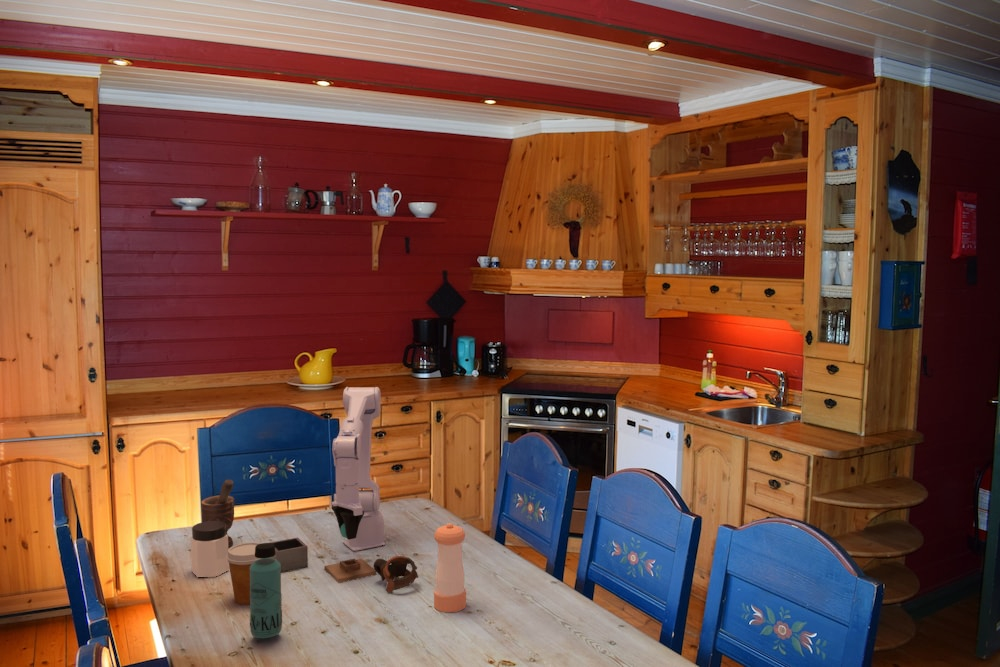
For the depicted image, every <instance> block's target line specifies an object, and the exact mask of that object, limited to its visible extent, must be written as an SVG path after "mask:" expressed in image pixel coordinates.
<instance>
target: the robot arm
mask: <svg viewBox="0 0 1000 667" xmlns="http://www.w3.org/2000/svg"><path fill="white" fill-rule="evenodd" d="M381 396H382V395H381V388H379V387H378V386H375V387H371V386H370V387H362V386H361V387H357V386H355V387H349V386H346V387H345V388H344V389H343V394H342V404H343V405H342V406H343V408H344V411H345V413H346V416H347V417H345V418H344V419H343V420H342V422H341V425H340V428H339V433H338V435H337V437H335V438H333V441H332V448H331V449H332V450H331V451H332V457H333V466H334V467H335V493H334V494H333V501H331V509H332V511H333V513H334V515H335V518H336V521H337V524H338V529H339V530H340V528H341V526H342V525H343V524H345V530H346V536H347V538H346V539H347V540H344V541H343V544H344V545H345V546H347V547H348V548H349V550H352V551H353V552H358V551H361V550H368V549H373V548H377V547H382V545H383V546H385V545H386V543H385V522H384V521H385V520H384V516H383V514H382V512H381V511H379V510H380V504H381V494H380V486H379V484H378V483H377V482H376V481H375V480H373V479H372V478H371V460H372V459H371V458H372V457H371V456H372V455H371V454H372V429H373V424H374V420H375V419H377V418H379V417H380V413H381V400H382V399H381ZM363 489H364V490H363Z"/></svg>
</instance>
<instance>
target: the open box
mask: <svg viewBox="0 0 1000 667" xmlns="http://www.w3.org/2000/svg"><path fill="white" fill-rule="evenodd" d="M269 543H273V544H274V545H275V551H276V554H275V555H274V556H273V557H269V558H274V559H275V560H277V561H278V562H279V563H280V564H281V574H282V573H286V572H290V571H296V570H300V569H305V568H308V567H309V561H308V560H309V557H308V554H309V553H308V552H309V551H308V550H309V548H308V545H307V544H306V543H305V542H303V541H302V540H301V539H300V538H299V537H298V536H297V537H293V538H289V539H288V538H287V539H282V540H276V541H271V542H269Z"/></svg>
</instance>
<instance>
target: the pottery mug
mask: <svg viewBox="0 0 1000 667" xmlns="http://www.w3.org/2000/svg"><path fill="white" fill-rule="evenodd" d="M408 565H410V566H411V568H412V569H411V571H410V570H409V569H408V568H407V567H408ZM373 568H374V569H375V571H376V574H377V575H379V576H380V578H381V581H382V582H384V581H386V582H387V584H386V586H385V590H386V591H387V592H388V593H390V594H392V593H393V592H394V590H395V591H397V590H400V589H403V588H406V587H410V585H411V584H412V583H414V581H416V579H419V574H418V572H417V571H416V570H417V569H418V567H417V565H416V564H415V562H414V560H412V558H410V557H408V556H405V555H396V556H392V557H391V558H390V559H388V560H386V559H384V558H377V559H376V560H375V561H374V562H373Z"/></svg>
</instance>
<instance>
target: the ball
mask: <svg viewBox="0 0 1000 667" xmlns="http://www.w3.org/2000/svg"><path fill="white" fill-rule="evenodd" d="M339 533H340V535H341V536H342V537H343V538H344V539H347V536H346V530H345V524H343V525H342V526H341V528H340V529H339Z"/></svg>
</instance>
